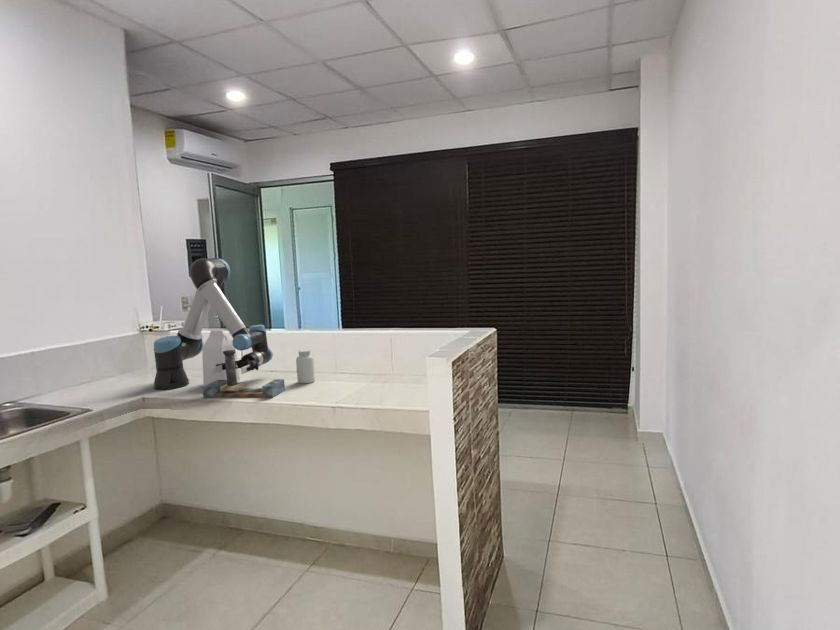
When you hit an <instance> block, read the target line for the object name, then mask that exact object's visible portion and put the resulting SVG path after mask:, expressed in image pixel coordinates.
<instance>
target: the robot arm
mask: <svg viewBox="0 0 840 630" xmlns="http://www.w3.org/2000/svg"><path fill="white" fill-rule="evenodd" d="M230 276H231V268H230V265H229V263H228V262H226V260H224V259H221V258H217V257H214V258H213V257H212V258H211V257H210V258H198V259H196V260H195V261H193V263H191V265H190V267H189V277H190V279H191V281H192V284H193V286H194V287H195V289H196V291H195V293H194V296H193V299H192V303H191V305H190V308H189V310H188V313H187V316H186V320H185V321H184V324H183V326H182V327H181V328H180V329H178V331H177V334H176V335H168V336H164V337H160V338H157V339H156V340H154V342H153V352H154V361H155V368H156V370H155V371H156V373H155V376H154V382H153V389H154V390H161V389H162V390H163V389H165V390H173V389H178V388H179V389H180V388H182V387H186V386H188V385H190V381H189V377H188V375H187V373H186V370H185V369H184V361H186V360H188V359H192V358H195V357H196V356H198V355H200V354H201V353H202V347H203V345H204V342H203V341H204V340H203V338H204V337H203V334H202V331H203V328H204V326H205V323H206V321H207V318H208V314H209V312H210V309H211V308H212V309H213V311H214V312H215V313H216V315H217V317H218V318H219V319H220V321H221V323H222V324H223V325H224V327H225V329H226V330H227V332H228V333H229V334H230V335H231V337H232V340H231V341H232V342H233V346H234V348H235V350H237V351H247V350H248V349H252V351H250V352H248V353H246V354H244V355H243V356H242V357H241V358H240V359H239V360H238V359H237V361H235V367H236V365H237V366H238V367H236V369H238V370H239V369H240V372H241V375H244V374H246V373H249V372H251V371H258V370H259V368H260V366H262V365H265V364H268V363H269V362H270V361H271V360H272V359H273V351H272V350H271V348H270V347H269V345H268V338H267V331H266V327H265V325H264V324H255V325H250V326H249V327H248V328H247V327H246V325H245V323H244V322H243V321H242V319H241V318H240V316H239V315H238V313H237V312H236V311H235V309H234V307H233V306H232V305H231V303H230V301H229V300H228V298H227V297H226V296H225V294H224V293H223V291H222V290H221V288H222V286H223V283H224V282H226V281H227V280H228V279H229V278H230ZM222 370H226V365H225V363H221V364H217V365H216V367H214V368H212V373H213V374H216V373H219V372H221V371H222Z"/></svg>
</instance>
